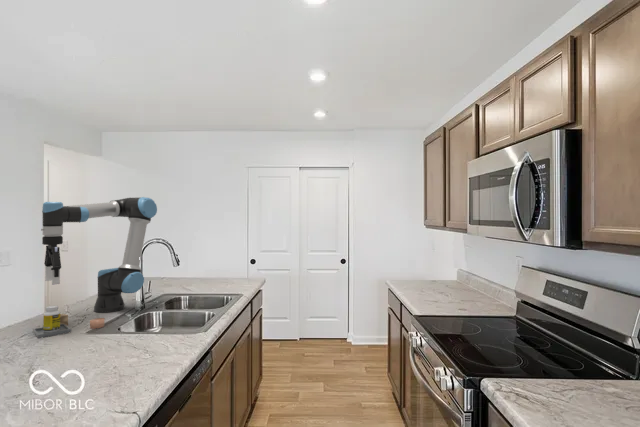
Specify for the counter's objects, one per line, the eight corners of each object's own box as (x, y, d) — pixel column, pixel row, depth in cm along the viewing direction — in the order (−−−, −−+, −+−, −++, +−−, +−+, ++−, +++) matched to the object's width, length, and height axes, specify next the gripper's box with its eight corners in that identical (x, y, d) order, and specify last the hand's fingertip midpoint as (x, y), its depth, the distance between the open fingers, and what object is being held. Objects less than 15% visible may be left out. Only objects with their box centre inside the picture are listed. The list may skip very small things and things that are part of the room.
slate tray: (64, 326, 177) (64, 323, 177) (70, 332, 169) (70, 329, 169) (32, 332, 169) (32, 329, 169) (38, 338, 160) (38, 335, 160)
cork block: (62, 323, 183) (62, 313, 183) (68, 325, 180) (68, 314, 181) (51, 326, 178) (51, 315, 179) (56, 327, 176) (56, 317, 176)
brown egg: (102, 324, 182) (102, 317, 182) (106, 327, 178) (106, 319, 178) (88, 327, 178) (88, 319, 178) (92, 329, 174) (92, 322, 174)
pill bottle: (53, 333, 166) (53, 308, 166) (39, 333, 166) (40, 308, 166) (63, 329, 172) (63, 305, 172) (50, 328, 172) (50, 305, 172)
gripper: (37, 234, 175) (36, 280, 175) (48, 237, 158) (48, 287, 158) (56, 234, 181) (55, 278, 181) (69, 236, 164) (69, 284, 163)
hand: (52, 282), depth 169 cm, fingers open, 13 cm apart
